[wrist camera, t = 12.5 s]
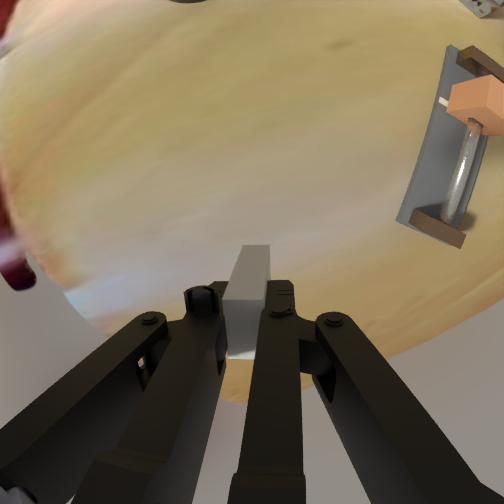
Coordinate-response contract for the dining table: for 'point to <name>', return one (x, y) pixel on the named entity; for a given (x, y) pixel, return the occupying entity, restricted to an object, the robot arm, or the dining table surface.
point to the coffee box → (483, 6)
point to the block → (479, 103)
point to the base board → (441, 153)
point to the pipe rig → (459, 157)
